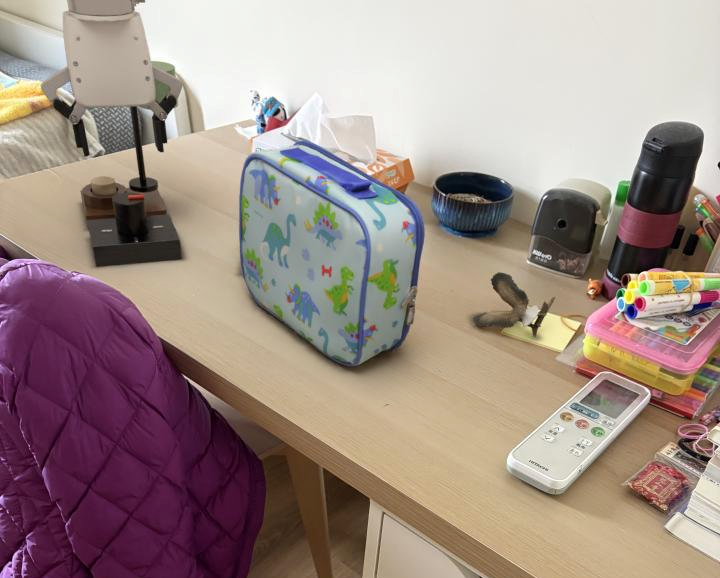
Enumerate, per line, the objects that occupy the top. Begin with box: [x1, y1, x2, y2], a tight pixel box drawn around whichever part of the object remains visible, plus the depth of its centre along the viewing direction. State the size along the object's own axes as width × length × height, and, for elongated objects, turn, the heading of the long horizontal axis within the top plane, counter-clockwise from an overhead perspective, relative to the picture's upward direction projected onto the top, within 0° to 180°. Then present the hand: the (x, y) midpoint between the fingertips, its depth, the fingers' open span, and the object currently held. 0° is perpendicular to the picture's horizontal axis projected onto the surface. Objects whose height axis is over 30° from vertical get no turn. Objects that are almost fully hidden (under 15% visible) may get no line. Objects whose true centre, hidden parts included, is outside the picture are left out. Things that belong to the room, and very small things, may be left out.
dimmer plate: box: [86, 213, 183, 267], centre depth 105 cm, size 12×9×3 cm
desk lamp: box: [128, 60, 179, 193], centre depth 108 cm, size 9×6×17 cm
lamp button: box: [90, 175, 117, 195], centre depth 111 cm, size 4×4×2 cm
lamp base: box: [79, 182, 168, 231], centre depth 113 cm, size 12×10×4 cm
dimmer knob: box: [112, 193, 148, 236], centre depth 102 cm, size 4×4×5 cm
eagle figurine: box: [473, 271, 556, 338], centre depth 95 cm, size 8×7×9 cm
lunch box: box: [238, 140, 426, 367], centre depth 87 cm, size 26×11×21 cm, turn 40°
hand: (123, 151), depth 96 cm, fingers open, 9 cm apart
